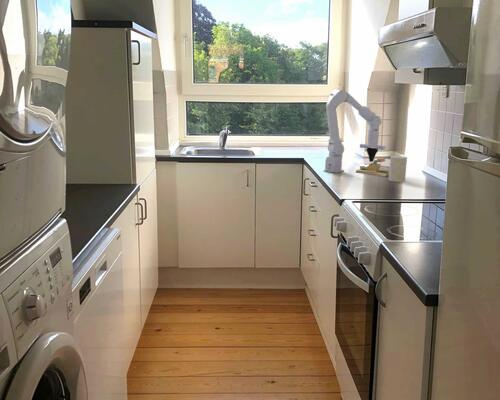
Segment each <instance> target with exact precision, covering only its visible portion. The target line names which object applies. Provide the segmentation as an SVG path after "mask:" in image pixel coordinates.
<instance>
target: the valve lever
mask: <svg viewBox="0 0 500 400" xmlns="http://www.w3.org/2000/svg"><path fill="white" fill-rule="evenodd" d="M384 162H386V158H385V157H384V158H383V157H381V158H377V159H374V160H373V162H372V163H373V164H378V163H384Z"/></svg>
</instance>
